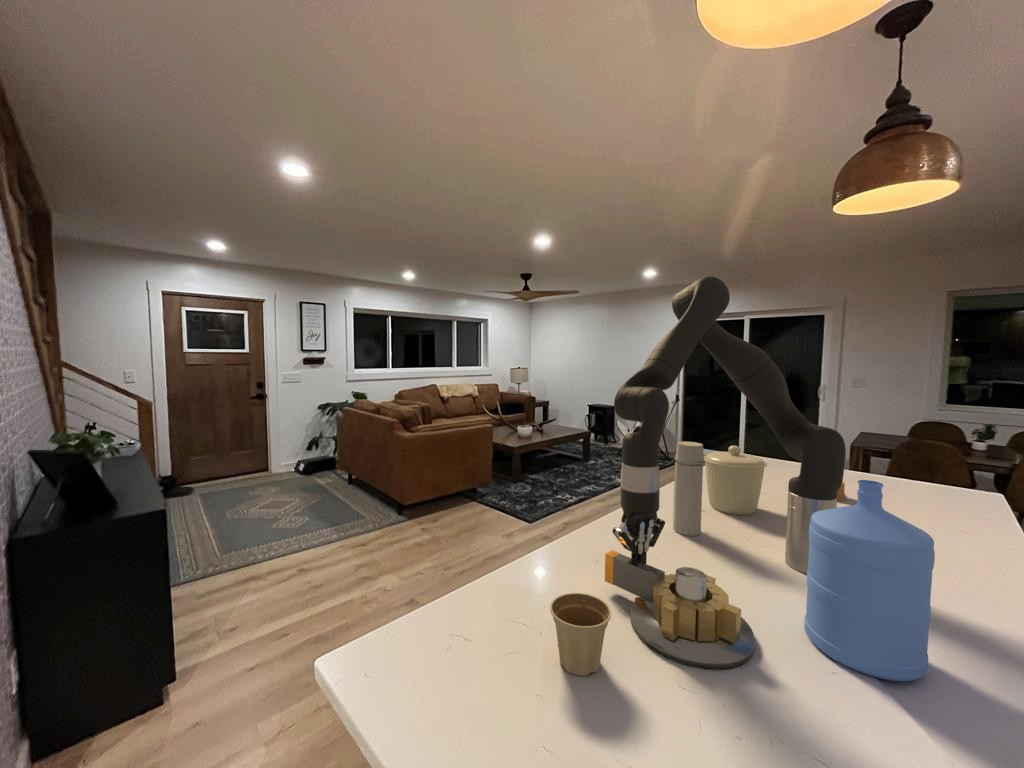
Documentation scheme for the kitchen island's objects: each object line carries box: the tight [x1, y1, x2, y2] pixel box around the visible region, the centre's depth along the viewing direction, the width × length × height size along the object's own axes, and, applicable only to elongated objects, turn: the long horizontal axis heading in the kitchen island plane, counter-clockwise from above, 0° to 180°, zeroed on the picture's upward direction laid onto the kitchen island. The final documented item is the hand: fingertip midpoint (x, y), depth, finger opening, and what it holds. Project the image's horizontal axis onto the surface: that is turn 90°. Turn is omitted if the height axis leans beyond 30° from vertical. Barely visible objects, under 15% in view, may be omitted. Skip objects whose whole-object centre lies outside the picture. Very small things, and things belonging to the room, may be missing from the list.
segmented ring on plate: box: [604, 549, 742, 644], centre depth 77 cm, size 16×24×6 cm, turn 62°
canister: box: [704, 445, 768, 516], centre depth 135 cm, size 18×18×21 cm
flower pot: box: [549, 592, 612, 676], centre depth 66 cm, size 9×9×9 cm
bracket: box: [837, 481, 846, 502], centre depth 152 cm, size 18×8×7 cm, turn 150°
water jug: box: [804, 479, 936, 682], centre depth 69 cm, size 16×16×28 cm
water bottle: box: [672, 441, 706, 537], centre depth 118 cm, size 9×8×25 cm
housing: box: [630, 566, 756, 671], centre depth 74 cm, size 20×20×10 cm
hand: (638, 568), depth 86 cm, fingers closed
